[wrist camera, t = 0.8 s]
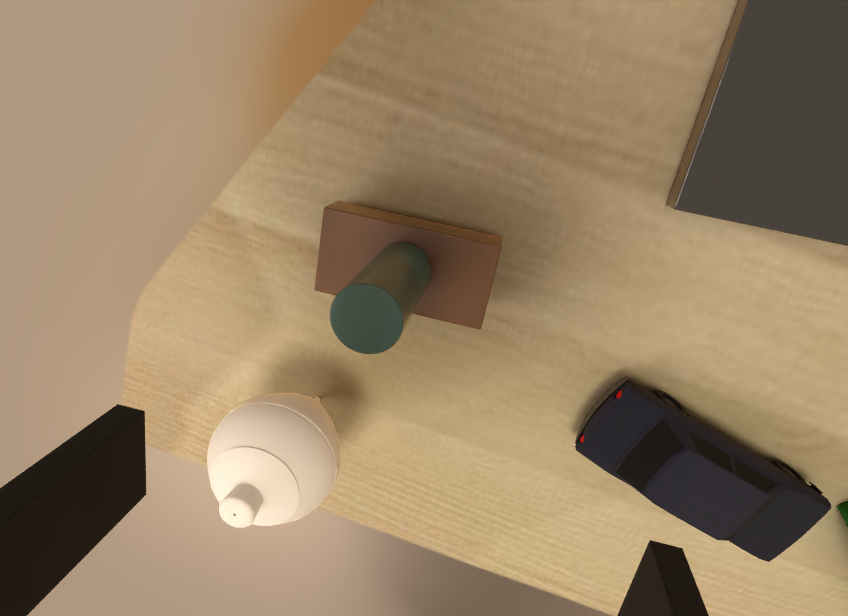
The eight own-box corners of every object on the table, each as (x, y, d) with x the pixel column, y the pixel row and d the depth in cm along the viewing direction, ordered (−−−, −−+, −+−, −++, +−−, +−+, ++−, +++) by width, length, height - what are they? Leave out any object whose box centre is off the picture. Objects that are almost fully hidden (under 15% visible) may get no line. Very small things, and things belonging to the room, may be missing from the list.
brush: (333, 273, 34) (249, 345, 23) (343, 197, 32) (257, 236, 22) (484, 308, 33) (469, 399, 23) (502, 232, 32) (496, 291, 21)
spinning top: (380, 438, 38) (324, 571, 27) (284, 448, 40) (194, 576, 29) (354, 342, 36) (281, 443, 25) (253, 356, 37) (142, 457, 26)
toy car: (749, 534, 36) (784, 596, 31) (565, 427, 35) (573, 474, 31) (813, 476, 34) (861, 533, 29) (618, 361, 33) (635, 401, 29)
